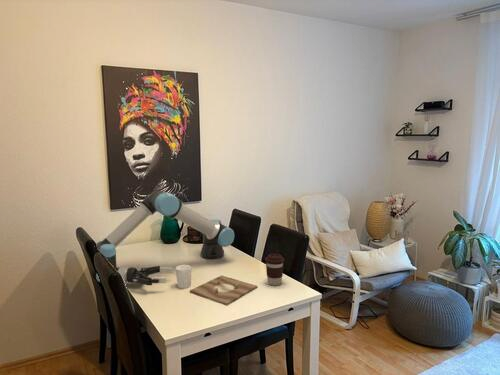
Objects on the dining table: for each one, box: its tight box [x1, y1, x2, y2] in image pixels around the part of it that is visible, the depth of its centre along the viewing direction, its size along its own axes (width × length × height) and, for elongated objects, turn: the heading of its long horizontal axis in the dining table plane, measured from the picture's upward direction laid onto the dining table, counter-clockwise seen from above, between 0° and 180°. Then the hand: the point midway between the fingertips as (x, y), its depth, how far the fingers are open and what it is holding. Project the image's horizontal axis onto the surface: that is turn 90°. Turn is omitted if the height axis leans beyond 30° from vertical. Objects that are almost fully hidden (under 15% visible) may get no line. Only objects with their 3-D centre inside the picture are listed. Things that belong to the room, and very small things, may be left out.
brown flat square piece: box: [189, 275, 258, 306], centre depth 187 cm, size 24×24×3 cm
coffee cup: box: [264, 253, 285, 287], centre depth 194 cm, size 10×10×15 cm
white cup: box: [175, 264, 192, 289], centre depth 191 cm, size 8×8×10 cm
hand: (169, 275), depth 191 cm, fingers open, 13 cm apart
